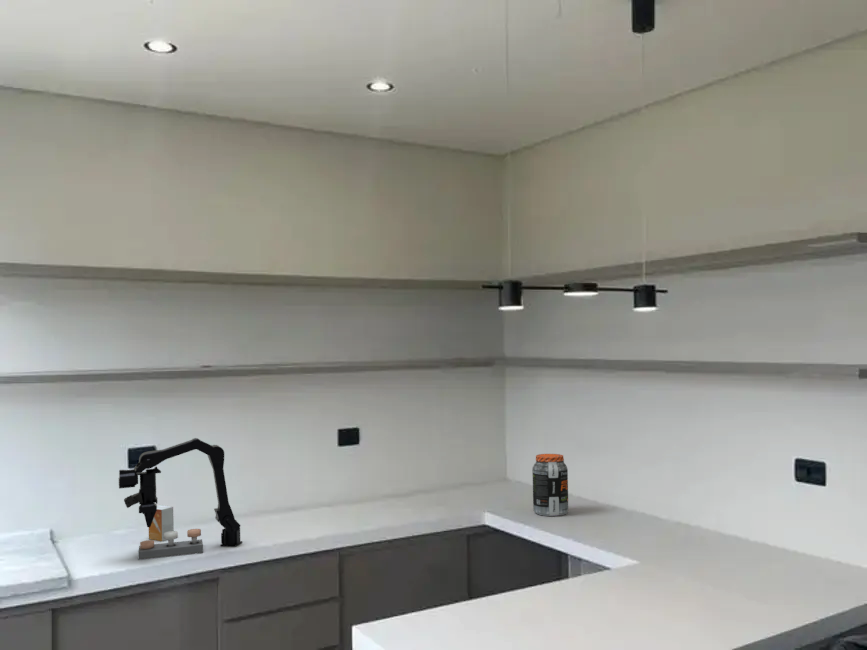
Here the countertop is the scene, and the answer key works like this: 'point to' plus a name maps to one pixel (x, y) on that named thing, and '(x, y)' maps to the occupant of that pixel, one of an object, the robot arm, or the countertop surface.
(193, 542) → the knob
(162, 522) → the small box
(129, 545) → the countertop surface
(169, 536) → the knob middle
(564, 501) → the supplement tub
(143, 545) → the knob
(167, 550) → the knob strip
